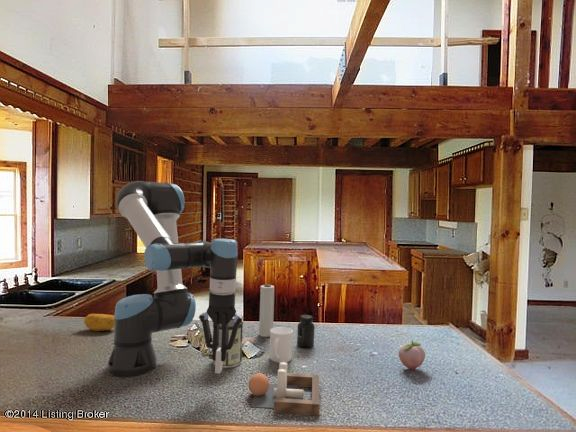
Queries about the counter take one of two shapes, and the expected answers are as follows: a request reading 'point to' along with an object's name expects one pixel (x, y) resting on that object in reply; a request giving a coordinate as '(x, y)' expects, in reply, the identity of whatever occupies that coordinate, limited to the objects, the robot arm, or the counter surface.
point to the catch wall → (298, 404)
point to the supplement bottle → (305, 332)
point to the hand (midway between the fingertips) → (218, 371)
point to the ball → (258, 384)
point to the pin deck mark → (268, 397)
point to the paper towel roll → (266, 310)
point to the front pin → (291, 393)
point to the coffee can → (236, 351)
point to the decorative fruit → (411, 355)
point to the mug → (281, 344)
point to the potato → (99, 322)
